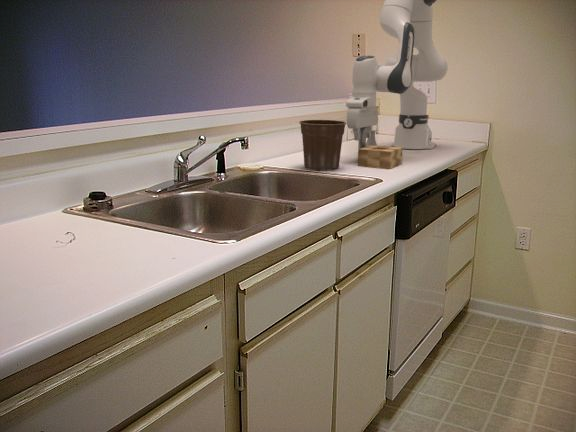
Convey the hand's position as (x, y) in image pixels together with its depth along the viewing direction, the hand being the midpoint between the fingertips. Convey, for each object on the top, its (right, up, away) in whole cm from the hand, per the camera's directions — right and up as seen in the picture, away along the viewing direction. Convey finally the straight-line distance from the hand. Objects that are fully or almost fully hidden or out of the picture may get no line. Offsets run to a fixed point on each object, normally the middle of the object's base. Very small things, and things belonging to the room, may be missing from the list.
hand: (362, 139), depth 213 cm
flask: (+5, -5, +14) cm, 16 cm away
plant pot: (-16, -12, -13) cm, 24 cm away
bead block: (+5, -10, -8) cm, 14 cm away
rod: (0, -8, +2) cm, 8 cm away
